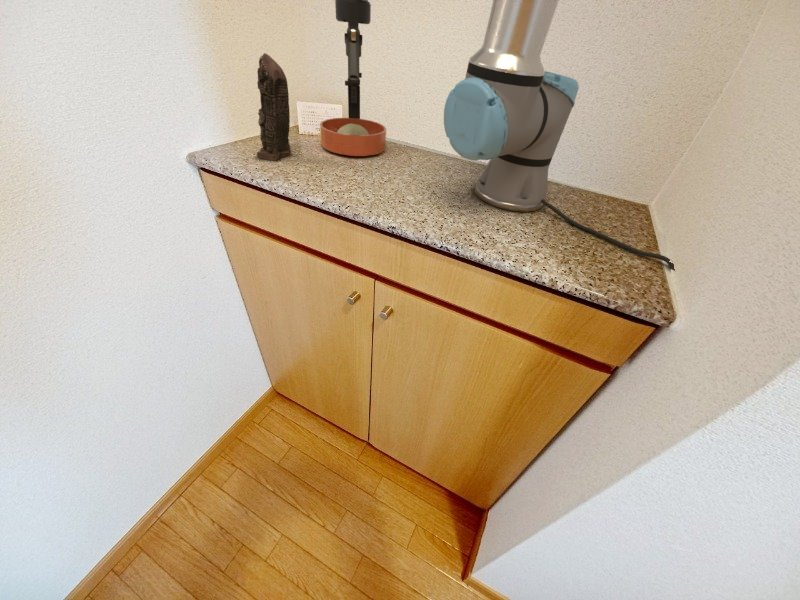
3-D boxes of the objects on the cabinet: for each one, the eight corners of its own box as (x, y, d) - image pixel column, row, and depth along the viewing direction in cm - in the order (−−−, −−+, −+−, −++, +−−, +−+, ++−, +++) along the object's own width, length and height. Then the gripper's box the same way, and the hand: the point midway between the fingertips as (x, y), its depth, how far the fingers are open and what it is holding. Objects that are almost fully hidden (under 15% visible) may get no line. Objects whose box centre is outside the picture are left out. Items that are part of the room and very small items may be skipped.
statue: (269, 149, 81) (252, 49, 67) (296, 153, 80) (285, 54, 67) (256, 158, 75) (235, 51, 62) (285, 162, 75) (270, 56, 62)
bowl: (397, 151, 89) (399, 129, 86) (353, 163, 79) (353, 139, 75) (353, 135, 97) (353, 115, 93) (307, 145, 86) (305, 122, 82)
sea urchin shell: (373, 133, 90) (371, 115, 82) (369, 160, 90) (366, 145, 82) (341, 129, 90) (335, 111, 82) (337, 156, 90) (331, 140, 82)
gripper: (337, -1, 77) (341, 101, 91) (331, -8, 58) (337, 122, 72) (368, 3, 78) (367, 103, 92) (373, -3, 59) (370, 125, 73)
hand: (354, 112), depth 82 cm, fingers open, 13 cm apart
